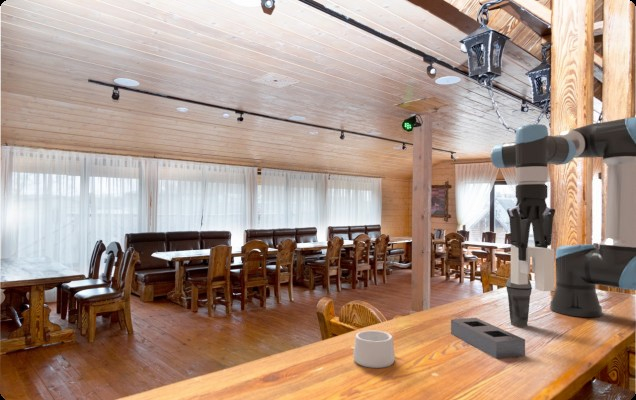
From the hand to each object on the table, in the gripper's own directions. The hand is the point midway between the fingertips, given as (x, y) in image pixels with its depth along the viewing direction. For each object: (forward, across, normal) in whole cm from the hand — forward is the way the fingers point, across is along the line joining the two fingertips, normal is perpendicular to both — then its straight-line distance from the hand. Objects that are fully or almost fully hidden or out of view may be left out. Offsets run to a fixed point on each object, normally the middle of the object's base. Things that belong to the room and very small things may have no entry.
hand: (531, 272), depth 109 cm
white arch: (+4, 0, 0) cm, 4 cm away
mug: (+20, +43, 0) cm, 48 cm away
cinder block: (+19, +11, -4) cm, 22 cm away
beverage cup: (+19, -10, -16) cm, 27 cm away
